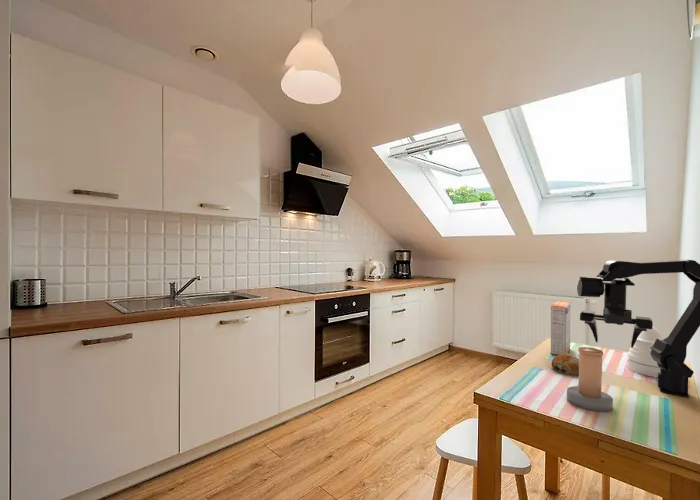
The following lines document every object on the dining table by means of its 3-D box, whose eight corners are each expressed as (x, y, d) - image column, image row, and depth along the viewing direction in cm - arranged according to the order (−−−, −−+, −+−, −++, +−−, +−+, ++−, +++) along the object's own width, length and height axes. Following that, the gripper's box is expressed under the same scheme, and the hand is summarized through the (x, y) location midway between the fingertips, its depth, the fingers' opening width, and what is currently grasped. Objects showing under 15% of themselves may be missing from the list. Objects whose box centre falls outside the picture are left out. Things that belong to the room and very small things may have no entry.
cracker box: (554, 346, 155) (555, 300, 155) (570, 348, 151) (571, 302, 151) (549, 353, 144) (550, 304, 144) (566, 356, 140) (567, 306, 140)
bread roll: (585, 386, 120) (595, 365, 120) (558, 373, 120) (569, 353, 120) (567, 375, 130) (577, 356, 130) (543, 363, 130) (552, 344, 130)
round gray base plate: (613, 401, 100) (613, 393, 100) (611, 416, 92) (612, 406, 91) (569, 391, 107) (569, 383, 107) (564, 403, 99) (564, 395, 98)
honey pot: (623, 370, 126) (624, 321, 126) (630, 362, 134) (631, 317, 134) (671, 380, 116) (672, 328, 116) (675, 371, 125) (676, 323, 124)
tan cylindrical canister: (598, 391, 101) (599, 348, 101) (605, 400, 95) (606, 354, 95) (575, 388, 103) (576, 346, 103) (580, 396, 98) (581, 351, 97)
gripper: (578, 298, 112) (577, 344, 113) (654, 305, 100) (652, 357, 101) (582, 294, 121) (581, 337, 121) (652, 300, 109) (650, 348, 109)
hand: (613, 345), depth 113 cm, fingers open, 9 cm apart
